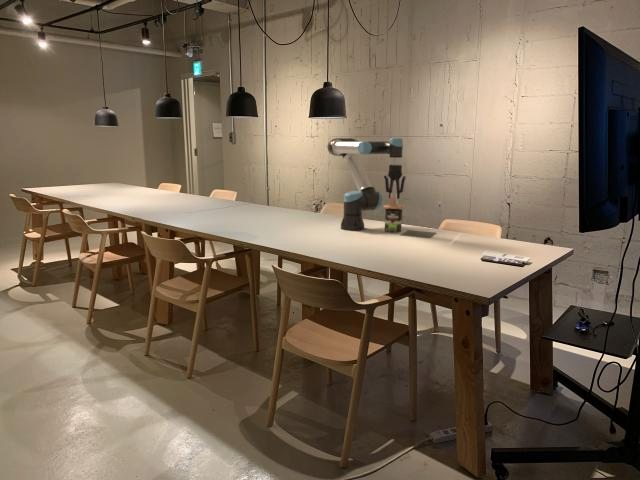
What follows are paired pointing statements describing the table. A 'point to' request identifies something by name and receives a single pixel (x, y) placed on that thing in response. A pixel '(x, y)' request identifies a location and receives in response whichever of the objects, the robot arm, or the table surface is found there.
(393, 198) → the lid
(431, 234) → the mat
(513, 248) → the table surface
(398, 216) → the coffee can
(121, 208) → the table surface
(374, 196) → the robot arm
